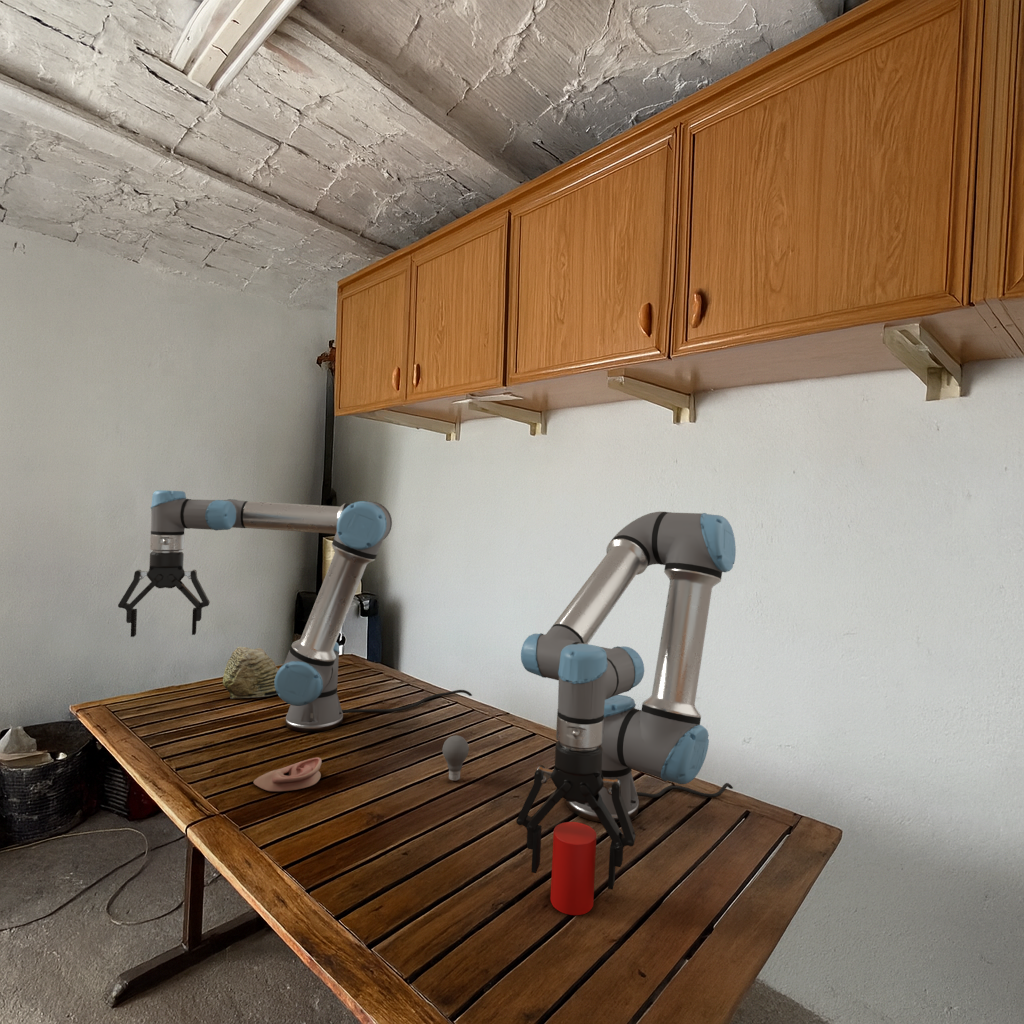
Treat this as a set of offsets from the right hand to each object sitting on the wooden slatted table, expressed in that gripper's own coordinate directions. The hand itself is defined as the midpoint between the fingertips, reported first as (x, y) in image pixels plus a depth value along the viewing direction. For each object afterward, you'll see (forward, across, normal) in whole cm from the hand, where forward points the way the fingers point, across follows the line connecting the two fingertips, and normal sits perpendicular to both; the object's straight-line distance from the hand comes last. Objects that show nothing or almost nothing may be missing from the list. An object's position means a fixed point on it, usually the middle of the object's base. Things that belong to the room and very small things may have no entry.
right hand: (572, 876), depth 102 cm
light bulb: (+4, -34, +34) cm, 48 cm away
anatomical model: (+4, -68, +20) cm, 71 cm away
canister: (+4, 0, 0) cm, 4 cm away
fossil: (+4, -114, +67) cm, 132 cm away
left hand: (-22, -112, +29) cm, 117 cm away
